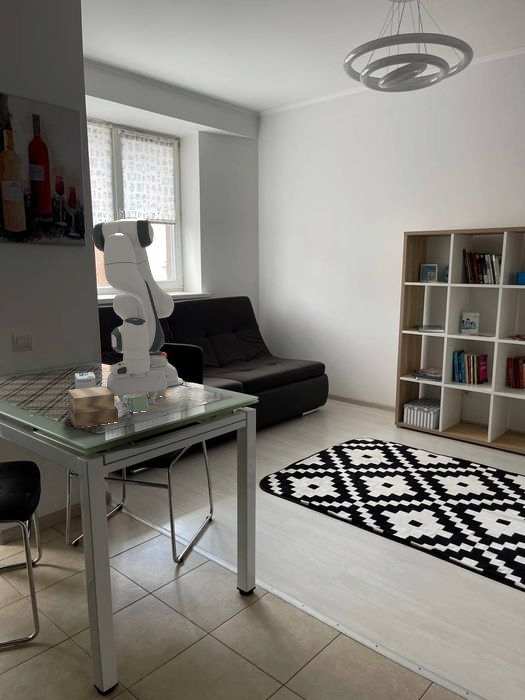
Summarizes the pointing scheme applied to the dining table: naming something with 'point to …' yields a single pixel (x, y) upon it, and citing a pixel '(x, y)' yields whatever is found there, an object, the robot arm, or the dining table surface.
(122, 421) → the dining table surface
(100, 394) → the oak top block
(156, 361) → the coffee cup
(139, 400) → the sage block
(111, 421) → the walnut base block
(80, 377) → the light bulb box
